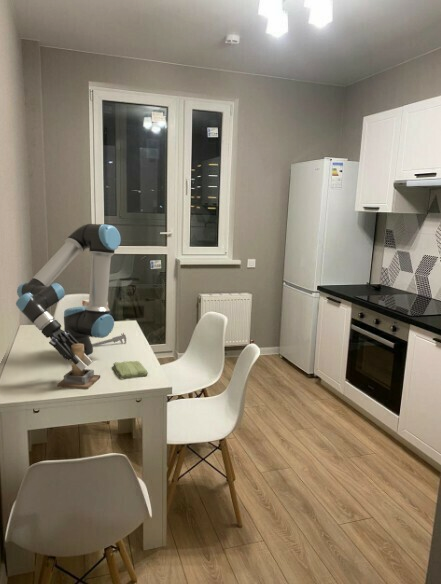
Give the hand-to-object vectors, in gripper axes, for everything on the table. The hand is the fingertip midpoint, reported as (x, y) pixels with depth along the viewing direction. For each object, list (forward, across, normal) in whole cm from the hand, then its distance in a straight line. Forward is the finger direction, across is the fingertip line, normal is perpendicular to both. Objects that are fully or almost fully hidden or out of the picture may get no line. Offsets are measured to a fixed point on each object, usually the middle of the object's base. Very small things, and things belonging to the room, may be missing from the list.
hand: (87, 366), depth 178 cm
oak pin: (0, 0, -6) cm, 6 cm away
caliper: (-3, -52, -14) cm, 54 cm away
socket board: (+3, 0, -8) cm, 8 cm away
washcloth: (+14, -16, +3) cm, 22 cm away
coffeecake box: (-14, -72, -24) cm, 77 cm away
